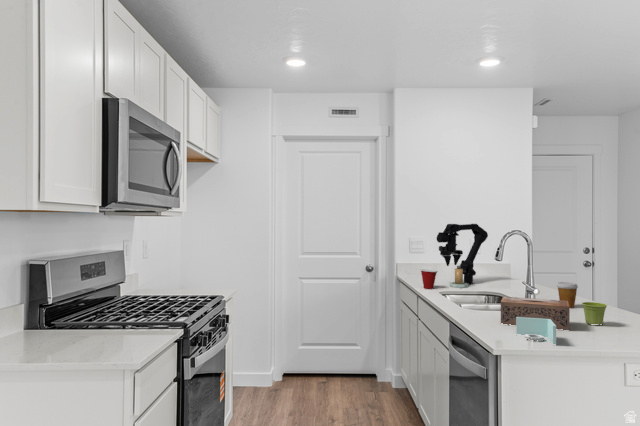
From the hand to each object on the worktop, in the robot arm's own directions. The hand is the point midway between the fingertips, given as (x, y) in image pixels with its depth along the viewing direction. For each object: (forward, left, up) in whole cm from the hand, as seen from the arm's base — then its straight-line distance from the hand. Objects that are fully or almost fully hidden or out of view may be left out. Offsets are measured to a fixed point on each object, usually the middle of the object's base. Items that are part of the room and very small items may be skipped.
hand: (451, 265), depth 318 cm
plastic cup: (+26, 0, -13) cm, 29 cm away
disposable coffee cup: (+25, +83, -13) cm, 88 cm away
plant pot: (+58, +106, -13) cm, 122 cm away
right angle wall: (+103, +101, -14) cm, 145 cm away
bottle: (+4, +8, -12) cm, 15 cm away
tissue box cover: (+77, +89, -14) cm, 118 cm away
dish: (+4, +8, -13) cm, 16 cm away
